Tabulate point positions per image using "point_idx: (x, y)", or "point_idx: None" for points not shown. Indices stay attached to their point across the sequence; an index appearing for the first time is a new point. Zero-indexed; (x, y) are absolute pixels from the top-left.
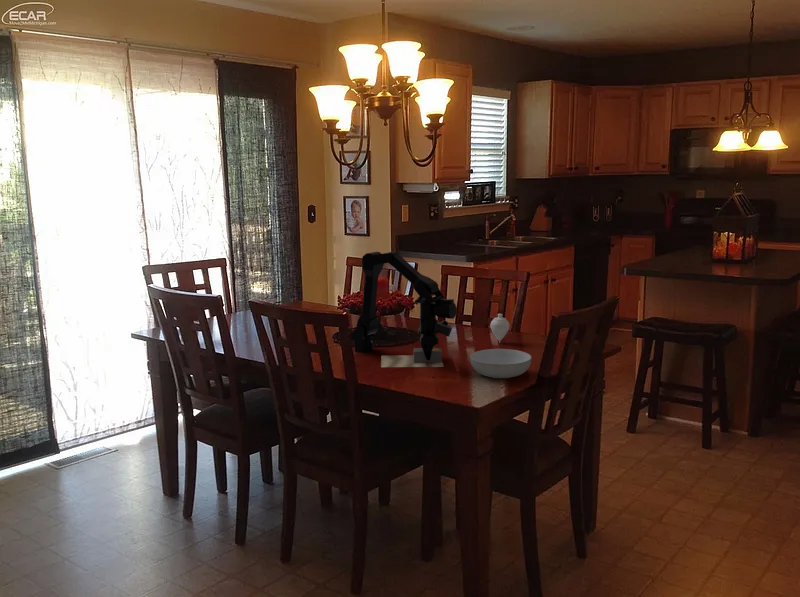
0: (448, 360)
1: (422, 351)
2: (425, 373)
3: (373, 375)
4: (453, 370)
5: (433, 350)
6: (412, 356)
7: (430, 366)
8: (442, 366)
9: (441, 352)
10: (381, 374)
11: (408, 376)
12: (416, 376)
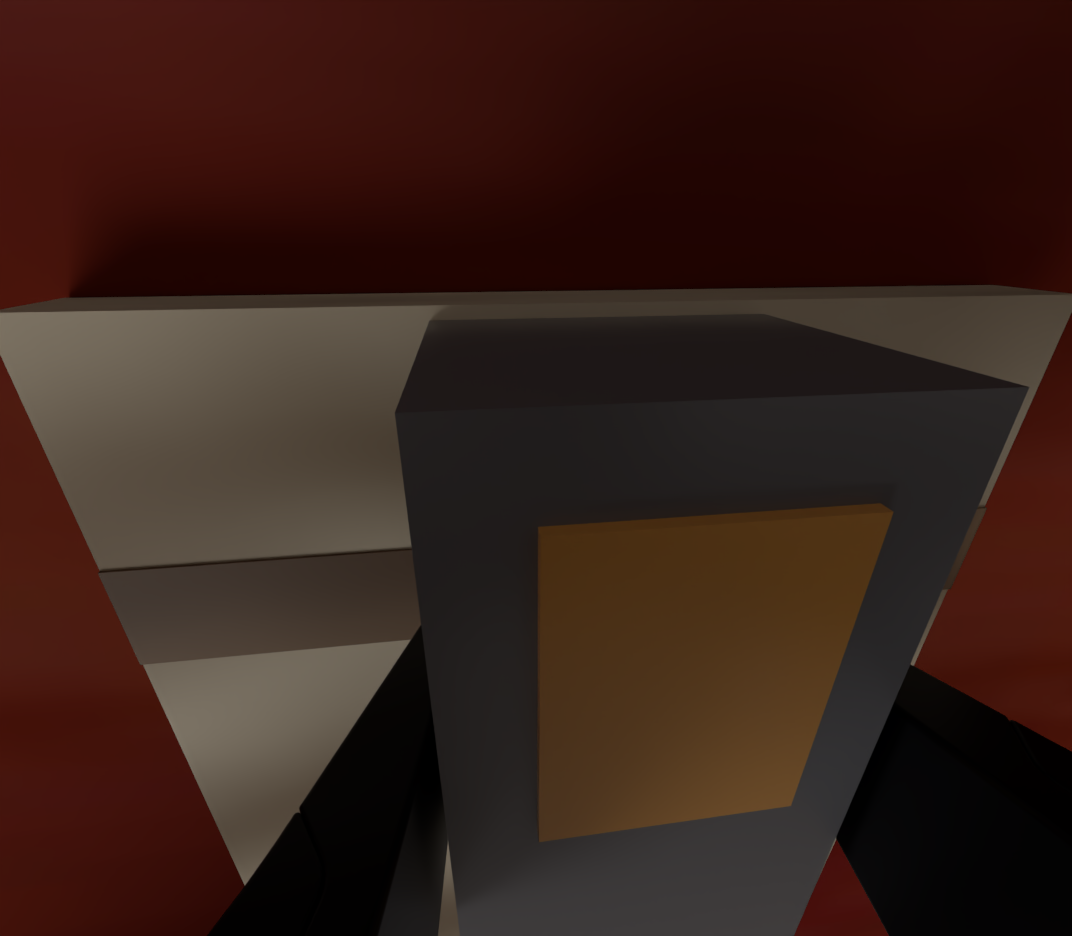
0: (164, 66)
1: (809, 875)
2: (996, 555)
3: (860, 912)
4: (1060, 52)
5: (830, 682)
6: (298, 802)
7: (971, 535)
8: (1063, 319)
9: (986, 396)
10: (854, 879)
11: (1017, 705)
12: (1059, 639)
